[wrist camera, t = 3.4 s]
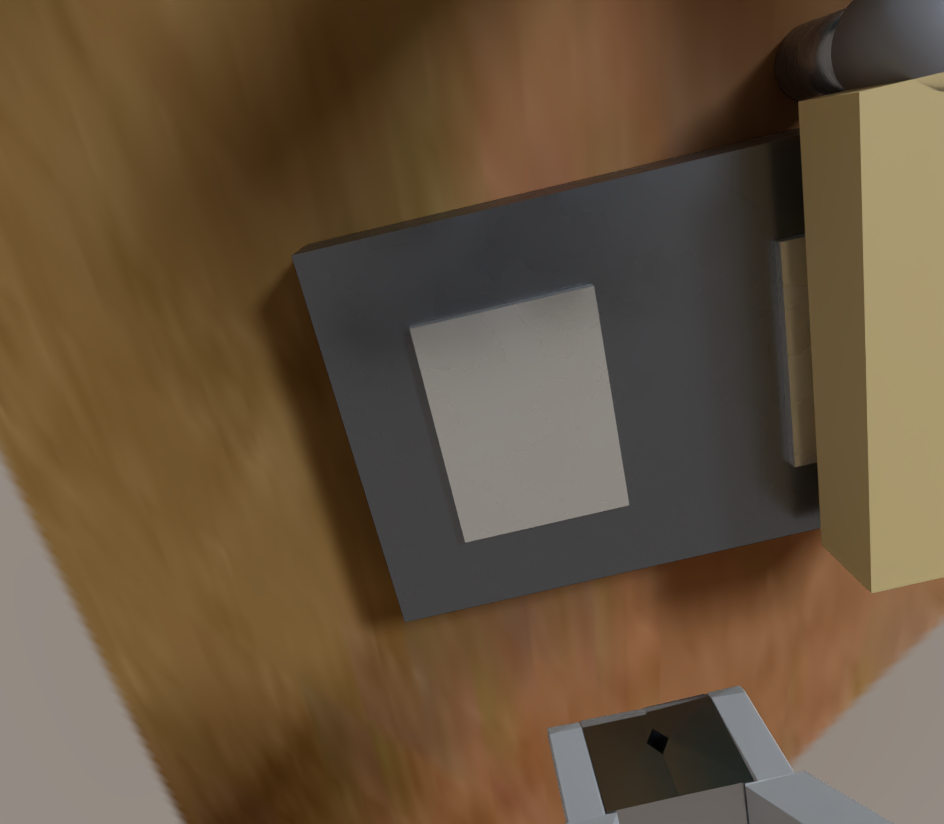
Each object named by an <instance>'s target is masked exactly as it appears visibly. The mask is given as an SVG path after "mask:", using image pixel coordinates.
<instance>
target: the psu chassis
mask: <svg viewBox="0 0 944 824" xmlns="http://www.w3.org/2000/svg"><path fill="white" fill-rule="evenodd" d="M845 10H846V9H843V10H840V11H837V12H835V13H832V14H829V15H826V16H824V17H821V18H818V19H815V20H812V21H810V22H807V23H804V24H802V25H800V26H798V27H796V28H795V29H794V30H792V31H791V32H790V33H789V34H788V35H787V36H786V37H785V39H784V40H783V42H782V43H781V45H780V47H779V49H778V52H777V55H776V59H775V76H776V79H777V82H778V85H779V86H780V88H781V89H782V91H783V92H784V93H785V94H786V95H788V96H789V97H791V98H793V99H795V100H799V101H803V100H807V99H812V98H816V97H820V96H824V95H828V94H833V93H837V92H841V91H845V89H844V88H843V87H842V86H841V84H840V83H839V82H838V80H837V78H836V76H835V73H834V70H833V66H832V60H831V46H832V39H833V35H834V32H835V29H836V26H837V24H838V22H839V20H840V18H841V16H842V14H843V13H844V11H845ZM292 259H293V262H294V266H295V269H296V272H297V275H298V279H299V282H300V285H301V288H302V291H303V295H304V298H305V301H306V304H307V308H308V311H309V314H310V317H311V321H312V324H313V327H314V330H315V333H316V337H317V340H318V343H319V346H320V350H321V353H322V356H323V359H324V362H325V366H326V369H327V372H328V375H329V379H330V382H331V385H332V388H333V392H334V395H335V398H336V401H337V404H338V408H339V411H340V414H341V417H342V421H343V424H344V427H345V430H346V434H347V437H348V440H349V443H350V446H351V450H352V453H353V456H354V459H355V463H356V466H357V469H358V472H359V475H360V479H361V482H362V485H363V488H364V492H365V495H366V498H367V501H368V505H369V508H370V511H371V514H372V517H373V521H374V524H375V527H376V530H377V534H378V537H379V540H380V543H381V547H382V550H383V553H384V556H385V559H386V563H387V566H388V569H389V572H390V576H391V579H392V582H393V585H394V588H395V592H396V595H397V598H398V601H399V605H400V608H401V611H402V614H403V618H404V621H405V622H408V621H412V620H417V619H421V618H426V617H430V616H435V615H439V614H443V613H448V612H452V611H457V610H461V609H465V608H470V607H474V606H479V605H483V604H487V603H492V602H496V601H501V600H505V599H510V598H514V597H518V596H523V595H527V594H532V593H536V592H540V591H545V590H549V589H554V588H558V587H562V586H567V585H571V584H576V583H580V582H585V581H589V580H593V579H598V578H602V577H607V576H611V575H615V574H620V573H624V572H629V571H633V570H637V569H642V568H646V567H651V566H655V565H660V564H664V563H668V562H673V561H677V560H682V559H686V558H690V557H695V556H699V555H704V554H708V553H712V552H717V551H721V550H726V549H730V548H735V547H739V546H743V545H748V544H752V543H757V542H761V541H765V540H770V539H774V538H779V537H783V536H787V535H792V534H796V533H801V532H805V531H810V530H814V529H818V528H821V523H820V505H819V486H818V467H817V448H816V429H815V410H814V391H813V372H812V353H811V334H810V315H809V296H808V277H807V258H806V240H805V221H804V202H803V183H802V164H801V145H800V128H797V129H793V130H789V131H785V132H780V133H776V134H772V135H768V136H764V137H759V138H755V139H751V140H747V141H742V142H738V143H734V144H730V145H726V146H721V147H717V148H713V149H709V150H704V151H700V152H696V153H692V154H688V155H683V156H679V157H675V158H671V159H666V160H662V161H658V162H654V163H650V164H645V165H641V166H637V167H633V168H628V169H624V170H620V171H616V172H612V173H607V174H603V175H599V176H595V177H590V178H586V179H582V180H578V181H574V182H569V183H565V184H561V185H557V186H552V187H548V188H544V189H540V190H536V191H531V192H527V193H523V194H519V195H514V196H510V197H506V198H502V199H498V200H493V201H489V202H485V203H481V204H476V205H472V206H468V207H464V208H460V209H455V210H451V211H447V212H443V213H438V214H434V215H430V216H426V217H422V218H417V219H413V220H409V221H405V222H400V223H396V224H392V225H388V226H384V227H379V228H375V229H371V230H367V231H362V232H358V233H354V234H350V235H346V236H341V237H337V238H333V239H329V240H324V241H320V242H316V243H312V244H307V245H306V246H304V247H303V248H302V249H300V250H299V251H297V252H296V253H294V254H293V255H292Z"/></svg>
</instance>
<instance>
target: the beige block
mask: <svg viewBox="0 0 944 824" xmlns="http://www.w3.org/2000/svg"><path fill="white" fill-rule="evenodd" d="M831 60H832V66H833V70H834V73H835V76H836V78H837V80H838V82H839V83H840V84H841V86H842V87H843V88H844V89H845V91H841V92H837V93H833V94H828V95H824V96H820V97H816V98H812V99H807V100H803V101H799V102H798V107H799V126H800V145H801V164H802V183H803V202H804V221H805V240H806V258H807V277H808V296H809V315H810V334H811V353H812V372H813V391H814V410H815V429H816V448H817V467H818V486H819V505H820V523H821V542H822V546H823V547H824V548H825V549H826V550H827V551H829V552H830V553H831V554H832V555H833V556H834V557H835V558H836V559H837V560H838V561H839V562H840V563H841V564H842V565H843V566H844V567H845V568H846V569H847V570H848V571H849V572H850V573H851V574H852V575H853V576H854V577H855V578H856V579H857V580H858V581H859V582H860V583H861V584H862V585H863V586H865V587H866V588H867V589H868V590H869V591H870V592H871V593H875V592H879V591H884V590H888V589H893V588H897V587H902V586H906V585H911V584H915V583H919V582H924V581H928V580H933V579H937V578H942V577H944V0H853V1H852V2H851V3H850V5H849V6H848V7H847V8H846V10H845V11H844V13H843V14H842V16H841V18H840V20H839V22H838V24H837V26H836V29H835V32H834V35H833V39H832V46H831Z"/></svg>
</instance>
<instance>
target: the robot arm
mask: <svg viewBox="0 0 944 824" xmlns="http://www.w3.org/2000/svg"><path fill="white" fill-rule="evenodd" d="M580 723H581V725H580ZM580 723H579V722H577V723H572V724H566V725H561V726H556V727H551V728H548V739H549V743H550V748H551V753H552V757H553V762H554V767H555V772H556V776H557V781H558V786H559V790H560V795H561V800H562V804H563V809H564V814H565V819H566V823H565V824H894V823H892V822H890V821H889V820H887V819H885V818H884V817H882V816H880V815H879V814H877V813H875V812H873V811H872V810H870V809H869V808H867V807H865V806H863V805H862V804H860V803H858V802H857V801H855V800H853V799H852V798H850V797H848V796H847V795H845V794H843V793H842V792H840V791H838V790H836V789H835V788H833V787H831V786H830V785H828V784H826V783H825V782H823V781H821V780H819V779H818V778H816V777H815V776H813V775H811V774H809V773H808V772H806V771H802V772H796V773H795V772H794V771H793V769H792V768H791V766H790V764H789V763H788V761H787V759H786V758H785V756H784V754H783V753H782V751H781V749H780V748H779V746H778V745H777V743H776V741H775V740H774V738H773V736H772V735H771V733H770V731H769V730H768V728H767V726H766V725H765V723H764V722H763V720H762V718H761V717H760V715H759V713H758V712H757V710H756V708H755V707H754V705H753V703H752V702H751V700H750V699H749V697H748V695H747V694H746V692H745V690H744V689H742V688H741V687H740V686H735V687H731V688H727V689H722V690H718V691H714V692H710V693H707V694H701V695H697V696H693V697H688V698H684V699H680V700H676V701H671V702H667V703H663V704H658V705H654V706H650V707H646V708H642V709H639V710H634V711H629V712H624V713H619V714H614V715H609V716H603V717H598V718H593V719H588V720H583V721H580Z"/></svg>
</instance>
